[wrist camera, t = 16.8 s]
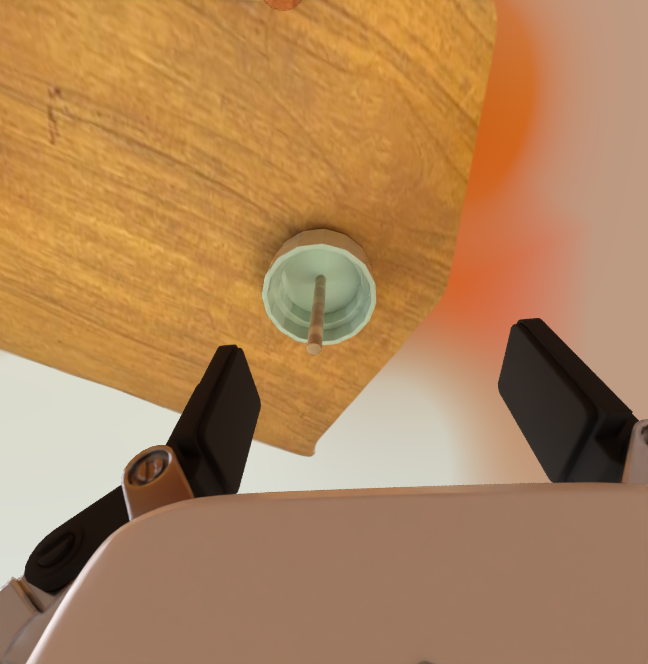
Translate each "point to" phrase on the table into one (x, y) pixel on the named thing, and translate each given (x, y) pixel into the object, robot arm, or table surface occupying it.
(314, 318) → the stick
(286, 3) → the utensil pot
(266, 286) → the bowl
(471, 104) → the table surface
